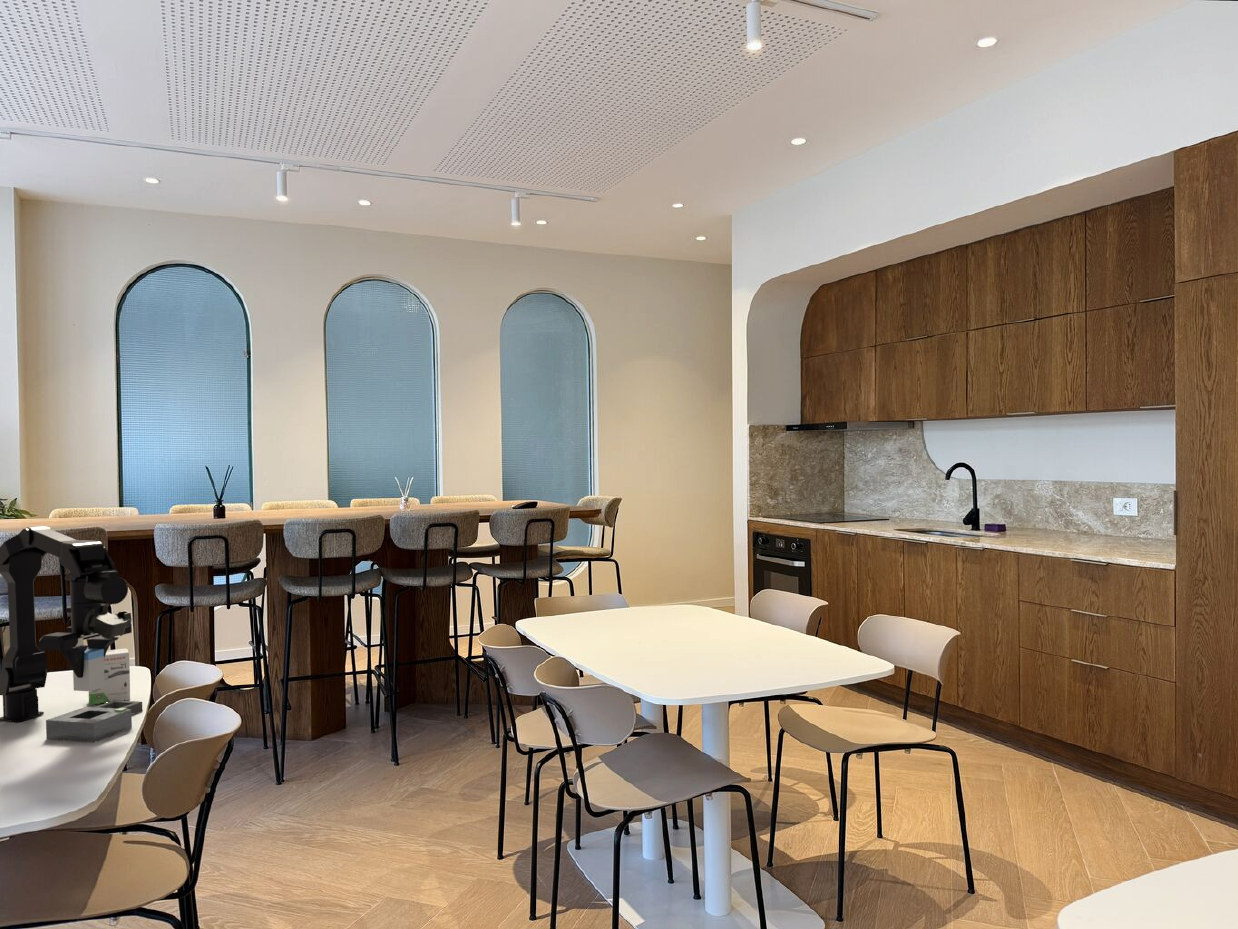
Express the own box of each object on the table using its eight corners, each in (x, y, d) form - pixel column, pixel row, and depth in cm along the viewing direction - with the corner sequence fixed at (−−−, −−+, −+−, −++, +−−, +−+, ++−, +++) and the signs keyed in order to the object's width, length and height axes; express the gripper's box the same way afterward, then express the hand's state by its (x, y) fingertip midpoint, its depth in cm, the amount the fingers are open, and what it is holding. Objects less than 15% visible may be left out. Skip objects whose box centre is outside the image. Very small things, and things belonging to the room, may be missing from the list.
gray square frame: (86, 718, 200) (86, 709, 200) (114, 708, 208) (114, 700, 208) (115, 720, 198) (115, 711, 198) (142, 710, 206) (142, 701, 206)
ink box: (89, 706, 211) (88, 656, 211) (88, 701, 215) (87, 652, 215) (131, 699, 215) (129, 651, 215) (129, 695, 220) (127, 647, 220)
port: (46, 739, 185) (45, 718, 185) (86, 725, 195) (85, 705, 195) (94, 742, 182) (93, 721, 182) (131, 727, 192) (131, 707, 192)
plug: (73, 690, 187) (72, 652, 187) (89, 685, 191) (88, 648, 191) (89, 691, 186) (88, 653, 186) (104, 686, 190) (103, 649, 190)
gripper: (81, 609, 178) (83, 688, 178) (151, 595, 196) (153, 666, 196) (35, 608, 180) (38, 685, 180) (109, 594, 198) (111, 664, 199)
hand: (88, 675), depth 189 cm, fingers closed on plug, 4 cm apart
